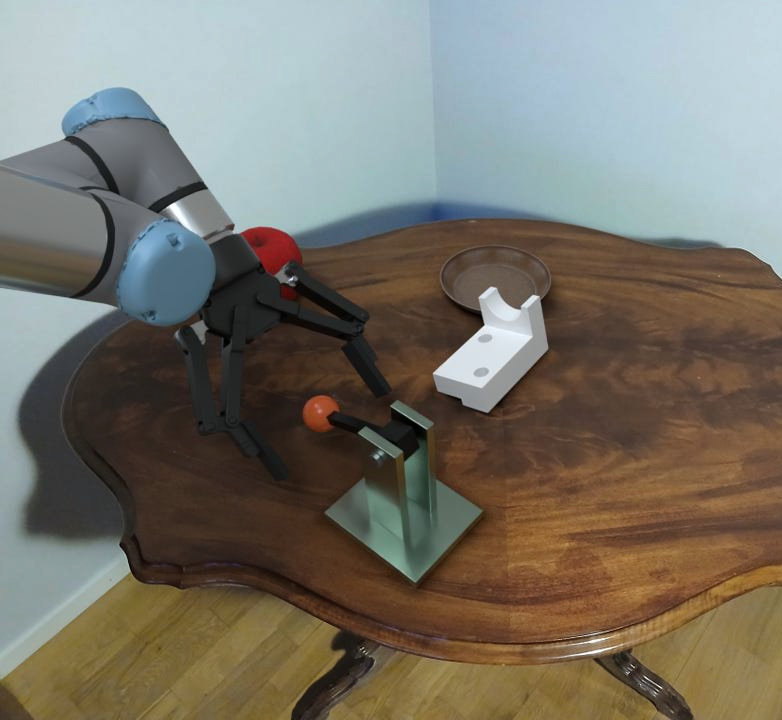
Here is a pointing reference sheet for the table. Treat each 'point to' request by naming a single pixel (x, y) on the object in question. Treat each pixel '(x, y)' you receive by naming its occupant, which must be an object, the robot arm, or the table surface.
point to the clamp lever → (356, 424)
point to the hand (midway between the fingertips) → (337, 434)
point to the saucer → (494, 276)
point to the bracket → (495, 352)
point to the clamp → (403, 503)
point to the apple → (274, 251)
